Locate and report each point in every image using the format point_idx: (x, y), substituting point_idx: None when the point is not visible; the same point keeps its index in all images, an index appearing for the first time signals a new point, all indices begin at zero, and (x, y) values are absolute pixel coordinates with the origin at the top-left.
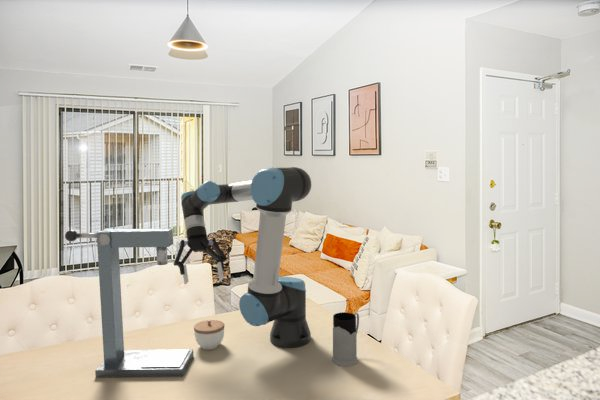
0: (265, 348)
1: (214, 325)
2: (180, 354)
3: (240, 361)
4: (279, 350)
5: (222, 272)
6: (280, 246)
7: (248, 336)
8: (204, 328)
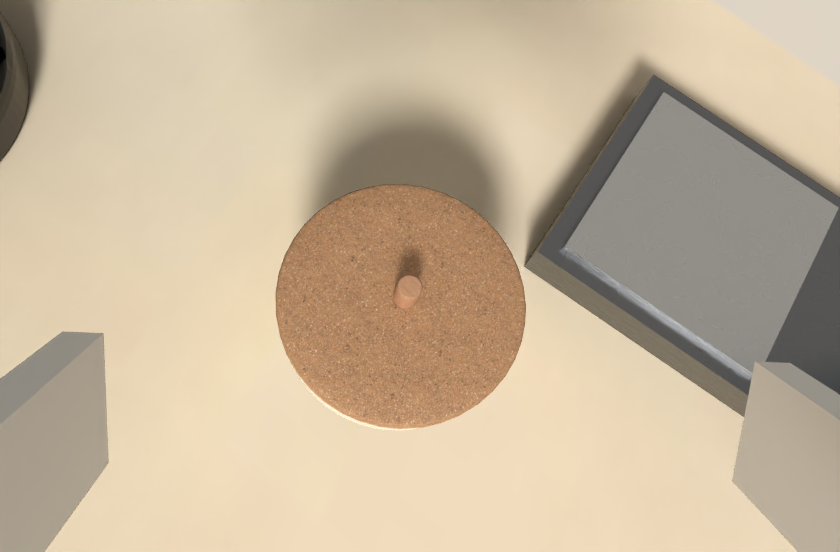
0: (109, 90)
1: (375, 256)
2: (629, 215)
3: (326, 50)
4: (59, 19)
5: (14, 377)
6: None
7: (77, 318)
8: (466, 250)
